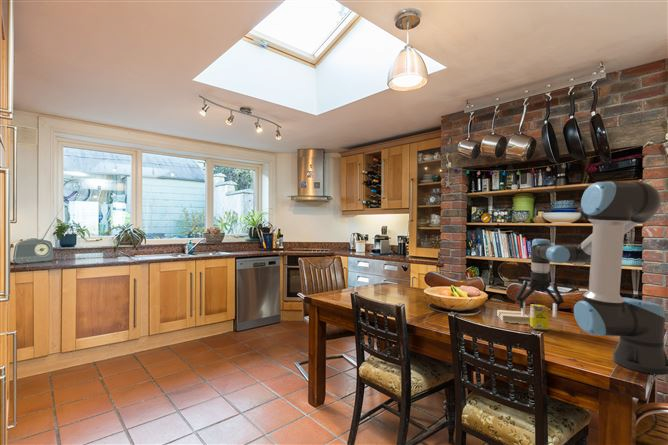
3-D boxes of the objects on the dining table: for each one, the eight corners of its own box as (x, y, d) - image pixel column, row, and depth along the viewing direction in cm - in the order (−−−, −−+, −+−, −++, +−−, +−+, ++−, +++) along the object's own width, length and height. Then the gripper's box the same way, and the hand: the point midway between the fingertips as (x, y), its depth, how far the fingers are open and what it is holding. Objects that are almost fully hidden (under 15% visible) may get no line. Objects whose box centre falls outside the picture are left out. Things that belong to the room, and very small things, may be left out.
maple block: (529, 325, 168) (529, 317, 168) (503, 323, 170) (503, 315, 170) (521, 318, 179) (521, 311, 179) (496, 317, 182) (497, 309, 182)
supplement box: (548, 331, 158) (548, 307, 158) (534, 330, 159) (534, 307, 159) (543, 327, 164) (543, 304, 164) (529, 326, 165) (530, 304, 165)
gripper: (566, 271, 162) (564, 316, 163) (509, 269, 167) (507, 312, 168) (573, 274, 155) (571, 320, 155) (513, 271, 160) (512, 316, 161)
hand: (538, 316), depth 162 cm, fingers open, 13 cm apart
